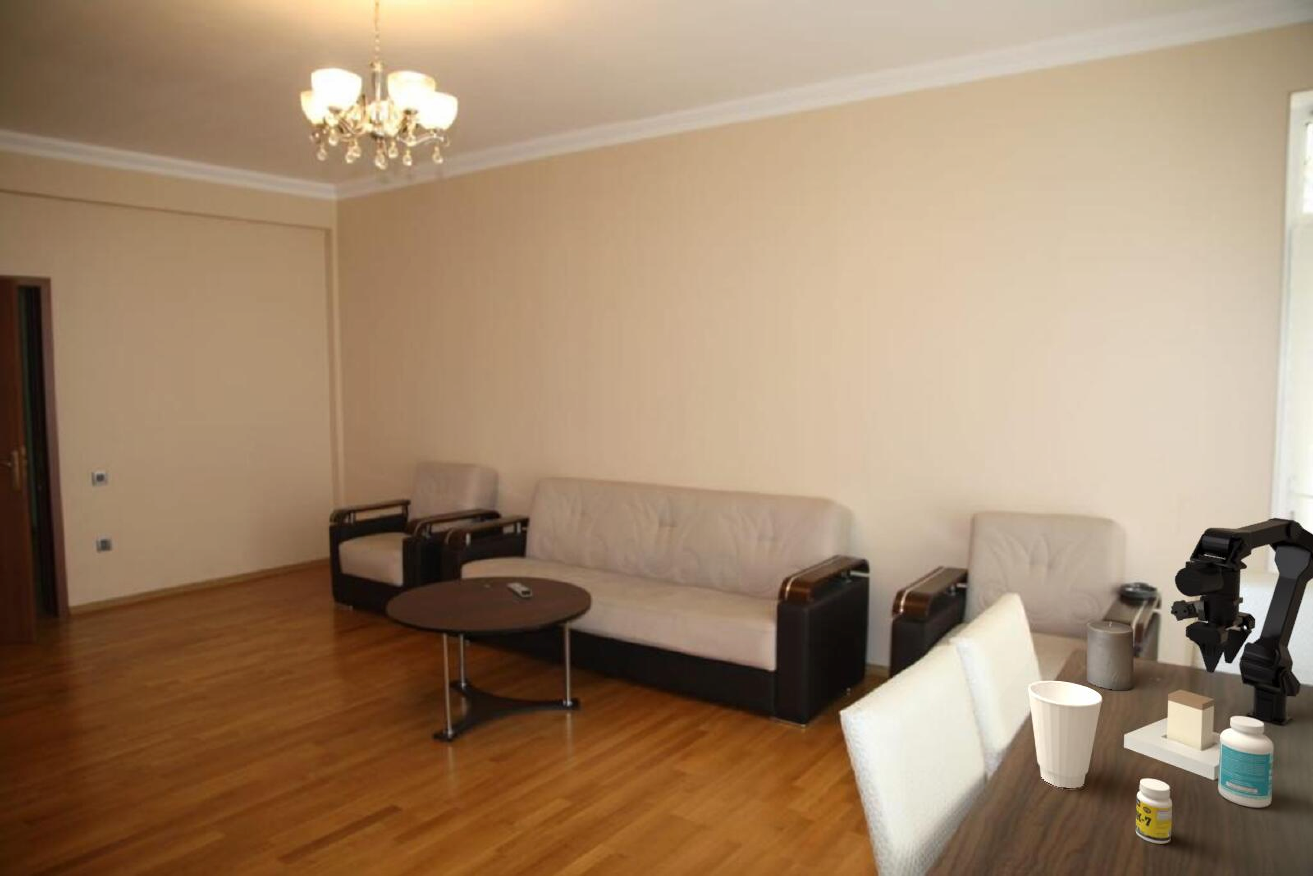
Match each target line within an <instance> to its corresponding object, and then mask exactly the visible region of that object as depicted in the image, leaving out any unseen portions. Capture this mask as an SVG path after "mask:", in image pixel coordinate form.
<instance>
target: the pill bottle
mask: <svg viewBox="0 0 1313 876" xmlns="http://www.w3.org/2000/svg"><path fill="white" fill-rule="evenodd" d="M1229 722H1230V723H1229V725H1230V727H1229V728H1226V729H1224V730H1223V731H1222V732H1220V734H1221V735H1220V753H1219V778H1218V779H1217V780H1218V781H1217V782H1218V784H1217V785H1218V786H1217V787H1218V788H1217V790H1218V792H1219V794H1220V795H1221V796H1222V797H1223V798H1224V799H1226V800H1227V801H1230V802H1232V803H1234V804H1236V805H1239V806H1245V807H1248V808H1266V807H1268V806H1270V805H1271V803H1272V796H1273V795H1272V794H1273V792H1272V791H1273V773H1274V772H1273V771H1274V770H1273V768H1274V751H1275V749H1274V747H1275V746H1274V743H1273V742H1272V740H1271V739H1270V738H1269V737H1268V736H1266V735H1265V734H1264V732H1265V723H1264V722H1263V721H1262V720H1260V719H1256V718H1253V717H1249V716H1245V715H1244V716H1241V715H1234V716H1231V717H1230V720H1229Z"/></svg>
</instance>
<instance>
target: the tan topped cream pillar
mask: <svg viewBox="0 0 1313 876" xmlns="http://www.w3.org/2000/svg"><path fill="white" fill-rule="evenodd" d="M1167 696H1168V697H1167V717H1168V722H1167V739H1169V740H1172V741H1175V742H1178V743H1181V744H1184V745H1186V746H1189V747H1192V748H1195V749H1198V750H1201V751H1204V750H1207V749H1209V748H1211V747H1212V746H1213V732H1214V719H1215V717H1214V715H1215V699H1214V698H1211V697H1207V696H1204V695H1200V694H1197V693H1193V692H1191V691H1187V690H1183V689H1178V690H1176V691H1173V692H1171V693H1170V692H1169V693H1168V695H1167Z"/></svg>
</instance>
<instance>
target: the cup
mask: <svg viewBox="0 0 1313 876" xmlns="http://www.w3.org/2000/svg"><path fill="white" fill-rule="evenodd" d="M1027 688H1028V689H1027V692H1028V695H1029V696H1028V697H1029V703H1030V711H1031V719H1032V720H1031V721H1032V729H1033V735H1034V744H1035V752H1036V753H1035V754H1036V760H1037V761H1036V762H1037V764H1038V766H1039V771H1040V777H1042V778H1041V780H1042V779H1044V781H1046V782H1048V783H1050V784H1052V785H1054V786H1053V787H1055V786H1057V787H1056V788H1058V787H1066V788H1076V787H1081V786H1083V787H1084V785H1085V779H1086V774H1087V773H1088V772H1089V768H1090V762H1091V757H1092V753H1093V747H1094V742H1095V739H1096V733H1097V731H1096V730H1097V726H1098V721H1099V717H1100V710H1101V705H1102V702H1103V697H1102V695H1101V694H1100V693H1099V692H1097V691H1096V690H1094V689H1092V688H1090V687H1087V686H1083V685H1081V684H1076V683H1073V682H1067V681H1058V680H1041V681H1035V682H1033V683H1031V684H1029V686H1028V687H1027ZM1044 781H1043V782H1044ZM1046 782H1045V783H1046ZM1048 783H1047V784H1048ZM1050 784H1049V785H1050ZM1083 784H1084V785H1083ZM1052 785H1051V786H1052ZM1081 788H1082V787H1081Z"/></svg>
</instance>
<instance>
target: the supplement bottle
mask: <svg viewBox="0 0 1313 876" xmlns="http://www.w3.org/2000/svg"><path fill="white" fill-rule="evenodd" d="M1138 789H1139V791H1138V792H1137V794H1136V804H1135V805H1136V808H1135V809H1136V810H1135V832H1136V835H1137V836H1138V837H1139V838H1141V839H1143V840H1145V841H1147V842H1149V843H1153V844H1161V845H1162V844H1163V845H1164V844H1167V843H1169V842H1170V841H1171V837H1172V819H1173V818H1172V817H1173V816H1172V815H1173V801H1172V799H1171V797H1170V796H1171V787H1170V785H1169V784H1167V783H1166V782H1164V781H1162V780H1159V779H1154V778H1141V779H1140V782H1139V787H1138Z"/></svg>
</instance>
